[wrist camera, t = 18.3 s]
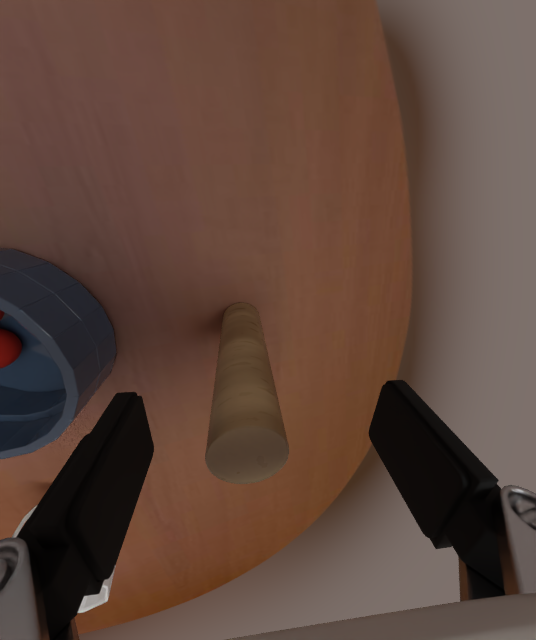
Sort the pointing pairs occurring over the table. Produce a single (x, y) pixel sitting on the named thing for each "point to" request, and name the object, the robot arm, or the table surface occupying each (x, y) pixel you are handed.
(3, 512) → the table surface
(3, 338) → the ball
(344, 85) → the table surface
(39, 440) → the bowl
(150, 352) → the table surface
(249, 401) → the stick
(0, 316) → the ball
